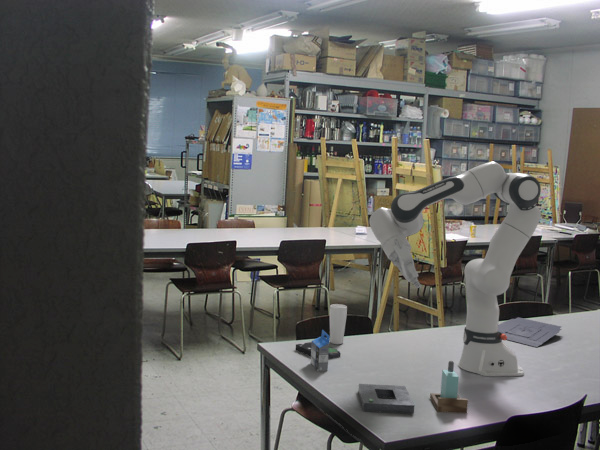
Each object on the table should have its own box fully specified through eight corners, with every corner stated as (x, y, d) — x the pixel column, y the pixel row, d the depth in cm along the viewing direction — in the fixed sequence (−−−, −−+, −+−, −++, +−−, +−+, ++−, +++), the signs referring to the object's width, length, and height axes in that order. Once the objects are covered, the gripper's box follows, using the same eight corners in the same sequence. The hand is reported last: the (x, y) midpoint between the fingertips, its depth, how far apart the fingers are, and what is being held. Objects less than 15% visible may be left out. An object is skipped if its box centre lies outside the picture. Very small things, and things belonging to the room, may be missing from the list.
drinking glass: (347, 342, 250) (350, 305, 249) (339, 346, 244) (342, 308, 243) (333, 339, 254) (335, 303, 252) (324, 343, 248) (326, 305, 247)
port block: (404, 393, 196) (405, 384, 196) (413, 413, 180) (414, 404, 180) (358, 391, 196) (359, 382, 196) (363, 411, 180) (364, 401, 180)
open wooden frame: (457, 399, 194) (458, 386, 193) (466, 413, 183) (467, 400, 182) (430, 397, 194) (431, 385, 193) (437, 411, 183) (438, 398, 182)
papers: (566, 333, 278) (566, 325, 278) (537, 353, 257) (537, 345, 257) (514, 322, 295) (514, 314, 294) (482, 340, 274) (483, 332, 273)
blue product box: (309, 363, 222) (311, 329, 221) (320, 363, 223) (322, 329, 222) (317, 371, 213) (319, 336, 212) (328, 371, 214) (330, 336, 213)
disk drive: (294, 351, 237) (319, 362, 225) (295, 344, 237) (319, 354, 225) (316, 347, 243) (341, 357, 231) (316, 340, 243) (341, 350, 231)
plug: (451, 402, 191) (454, 358, 190) (456, 409, 185) (459, 364, 184) (439, 401, 191) (443, 357, 190) (444, 409, 185) (447, 363, 184)
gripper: (402, 232, 206) (423, 266, 199) (408, 256, 224) (428, 288, 217) (385, 241, 206) (406, 275, 199) (393, 264, 224) (412, 296, 217)
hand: (417, 282), depth 208 cm, fingers open, 8 cm apart
